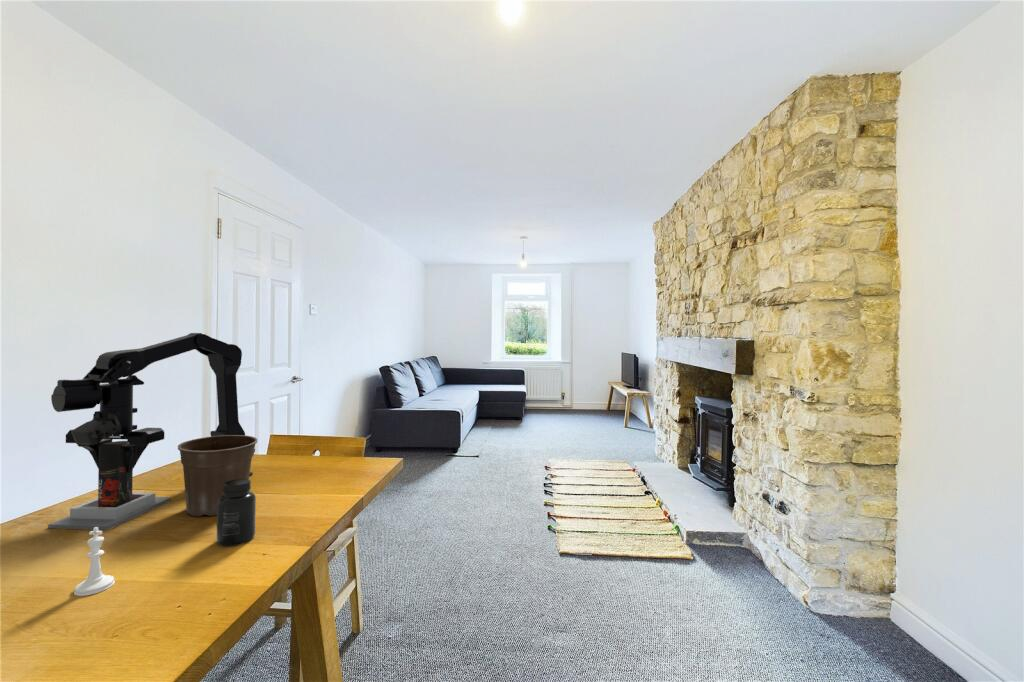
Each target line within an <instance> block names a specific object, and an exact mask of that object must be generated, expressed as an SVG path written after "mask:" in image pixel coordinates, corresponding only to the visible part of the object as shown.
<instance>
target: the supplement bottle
mask: <svg viewBox="0 0 1024 682" xmlns="http://www.w3.org/2000/svg"><path fill="white" fill-rule="evenodd" d="M251 483H252V482H251V480H250V478H249V479H235V480H230V481H227V482H225V483H224V485H223V494H224V495H223V496H222V497H221V498H220V499H219V500H218V502H217V515H216V543H217V544H218V545H220V546H221V547H222V546H223V547H233V546H238V545H242V544H245V543H247V542H250V541H251V540H252V539H254V537H255V535H256V516H257V513H256V511H257V509H256V508H257V502H256V501H257V499H256V498H257V497H256V494H255V493H254V492H252V491H251V489H252V487H251Z"/></svg>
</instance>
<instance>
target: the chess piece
mask: <svg viewBox="0 0 1024 682" xmlns="http://www.w3.org/2000/svg"><path fill="white" fill-rule="evenodd" d="M98 528H99V527H95V528H93V529H92V530H91V531H89V533H88V534H89V535H90V536H92V535H93V537H91V538H89V539H88V540H87V542H86V543H87V545H88V546H89V549H90V552H88V553H86V558H91V560H90V565H89V571H88V575H87V577H86V578H85V580H83V581H80V583H78V584H77V585H76V586H75V587H74V591H73V594H74V595H75V596H76V597H77V596H78V597H83V596H90V595H95V594H98V593H101V592H104V591H105V590H106V591H107V589H110V588H111V587H113V586H114V584H115V577H114V576H113V575H111V574H110V575H109V574H105V573H102V568H101V559H100V556H102V555H103V554H105V551H104V549H101V548H102V544H103V542H104V540H105V537H104V536H99V535H102V534H103V530H98Z"/></svg>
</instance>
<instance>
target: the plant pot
mask: <svg viewBox="0 0 1024 682" xmlns="http://www.w3.org/2000/svg"><path fill="white" fill-rule="evenodd" d="M257 443H258V438H256V437H254V436H250V435H246V434H245V435H222V436H211V435H210V436H205V437H201V438H199V437H198V438H194V439H191V440H186V441H183V442H181V443H179V444H178V445H177V450H178V451H179V455H180V464H181V465H182V469H183V480H184V481H183V483H184V495H185V509H186V513H187V514H188V515H191V516H193V517H202V516H203V515H206V516H208V517H214V516H217V502H218V500H219V499H220V498H221V497H222V496H223V495H224V494H223V485H224V483H225V482H227V481H230V480H235V479H249V480H250V476H251V475H250V472H251V465H252V458H253V457H254V455H255V452H254V449H255V447H256V444H257ZM255 450H256V449H255ZM249 475H250V476H249Z"/></svg>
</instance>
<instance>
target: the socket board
mask: <svg viewBox="0 0 1024 682" xmlns="http://www.w3.org/2000/svg"><path fill="white" fill-rule="evenodd" d="M171 501H172V496H171V497H170V496H156V492H137V491H136V492H135V491H134V492H133V491H132V501H130V502H128V503H125V504H123V505H121V506H118V507H98V497H97V498H93V499H92V500H89V501H86V502H83V503H81V504H78V505H75V506H73V507H70V508H69V516H65V517H63V518H61V519H59V520H56V521H53V522H51V523H48V524H47V528H48V529H60V530H61V529H62V530H63V529H64V530H68V529H69V530H93V528H95V527H99V528H98V531H109V530H110V529H112V528H115V527H117V526H119V525H122V524H124V523H126V522H128V521H130V520H132V519H134V518H137V517H138V516H140V515H142V514H145V513H147V512H149V511H151V510H153V509H156V508H158V507H159V506H162V505H164V504H166V503H168V502H171Z"/></svg>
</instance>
